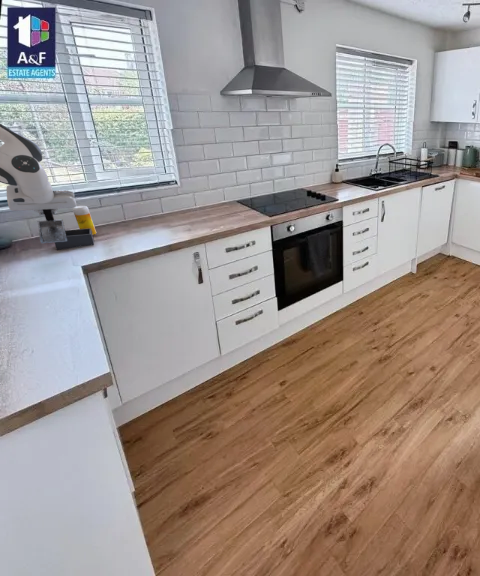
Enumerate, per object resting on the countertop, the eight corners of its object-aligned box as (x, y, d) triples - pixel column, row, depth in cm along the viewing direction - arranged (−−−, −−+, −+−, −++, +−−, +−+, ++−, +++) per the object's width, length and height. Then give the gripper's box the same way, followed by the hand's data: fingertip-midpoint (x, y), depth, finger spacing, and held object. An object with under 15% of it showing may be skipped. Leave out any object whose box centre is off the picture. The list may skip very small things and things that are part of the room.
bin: (57, 252, 162) (53, 237, 159) (59, 244, 171) (55, 231, 169) (94, 248, 169) (91, 234, 167) (94, 241, 179) (90, 228, 176)
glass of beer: (80, 236, 186) (70, 207, 179) (94, 233, 190) (84, 204, 183) (85, 239, 183) (74, 209, 176) (99, 235, 187) (89, 206, 180)
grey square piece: (67, 241, 152) (62, 224, 146) (41, 243, 147) (34, 226, 141) (63, 219, 158) (58, 203, 151) (38, 221, 153) (31, 204, 147)
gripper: (71, 184, 147) (78, 204, 158) (0, 185, 135) (13, 208, 146) (74, 196, 145) (81, 217, 156) (2, 200, 134) (15, 221, 145)
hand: (47, 212), depth 151 cm, fingers closed on grey square piece, 2 cm apart
